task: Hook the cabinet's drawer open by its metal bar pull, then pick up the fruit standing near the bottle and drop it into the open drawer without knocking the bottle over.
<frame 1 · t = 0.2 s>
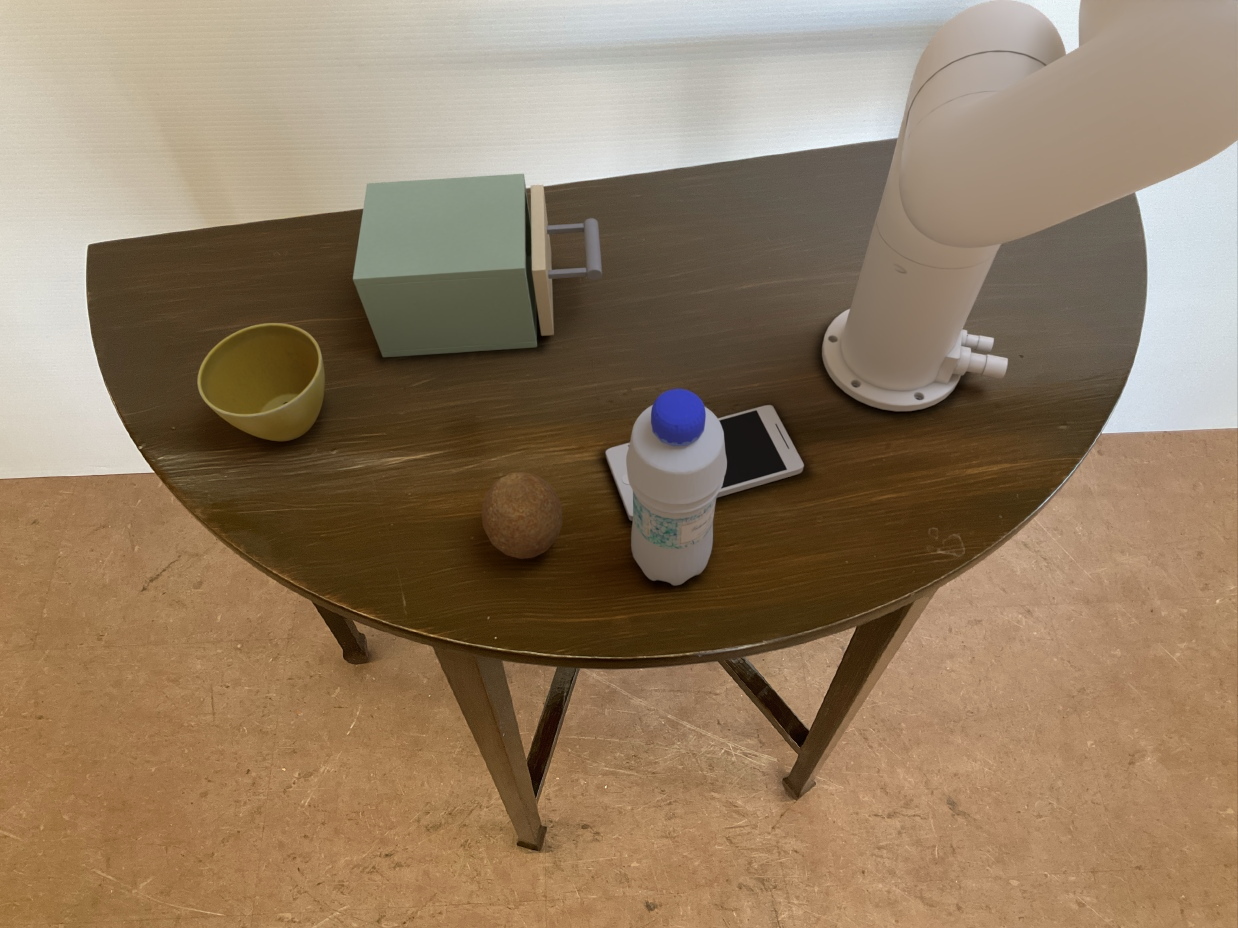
fruit: (528, 542, 70), on the table
cabinet: (462, 304, 84), on the table
bottle: (670, 557, 68), on the table
smartphone: (703, 464, 73), on the table
flower pot: (289, 420, 77), on the table
drawer: (502, 263, 80), point 5 cm above the table, slide at 0.5 cm
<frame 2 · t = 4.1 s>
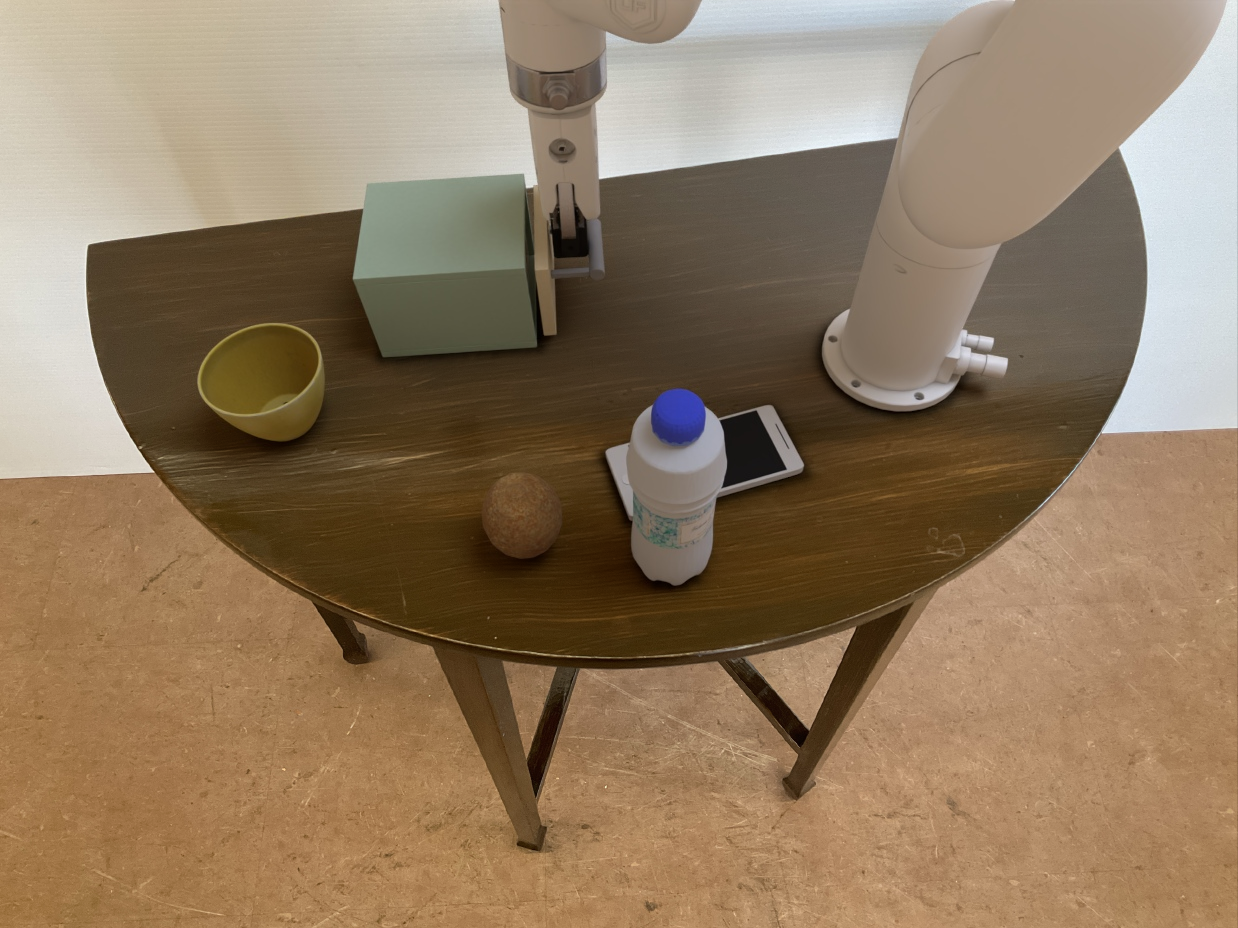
hand: (570, 251, 80), 6 cm above the table, tool pointing down, fingers closed
drawer: (505, 262, 80), point 5 cm above the table, slide at 0.8 cm, touching gripper
everything else where it was.
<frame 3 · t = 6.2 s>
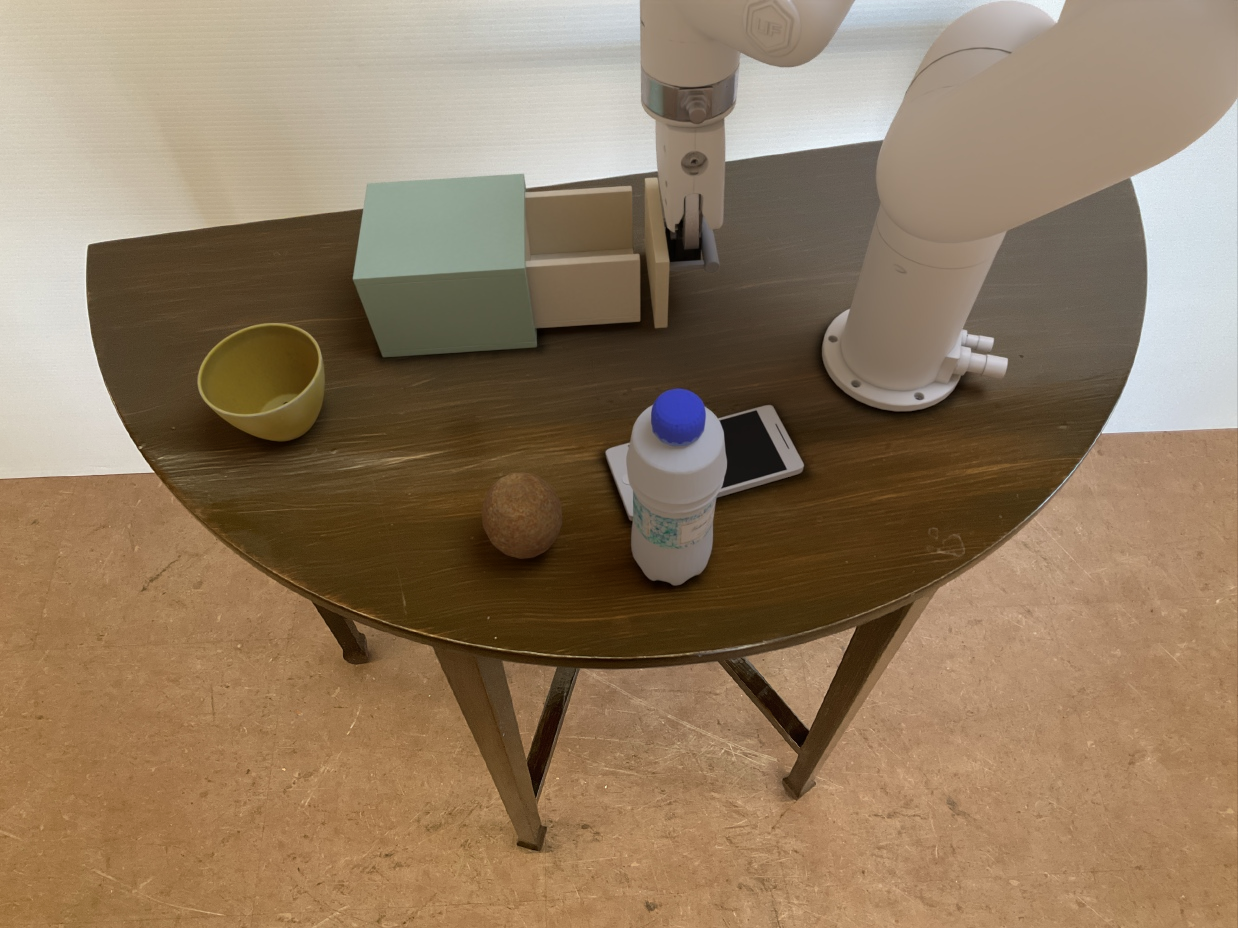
hand: (682, 261, 81), 4 cm above the table, tool pointing down, fingers closed
drawer: (616, 255, 80), point 5 cm above the table, slide at 11.2 cm
everything else where it was.
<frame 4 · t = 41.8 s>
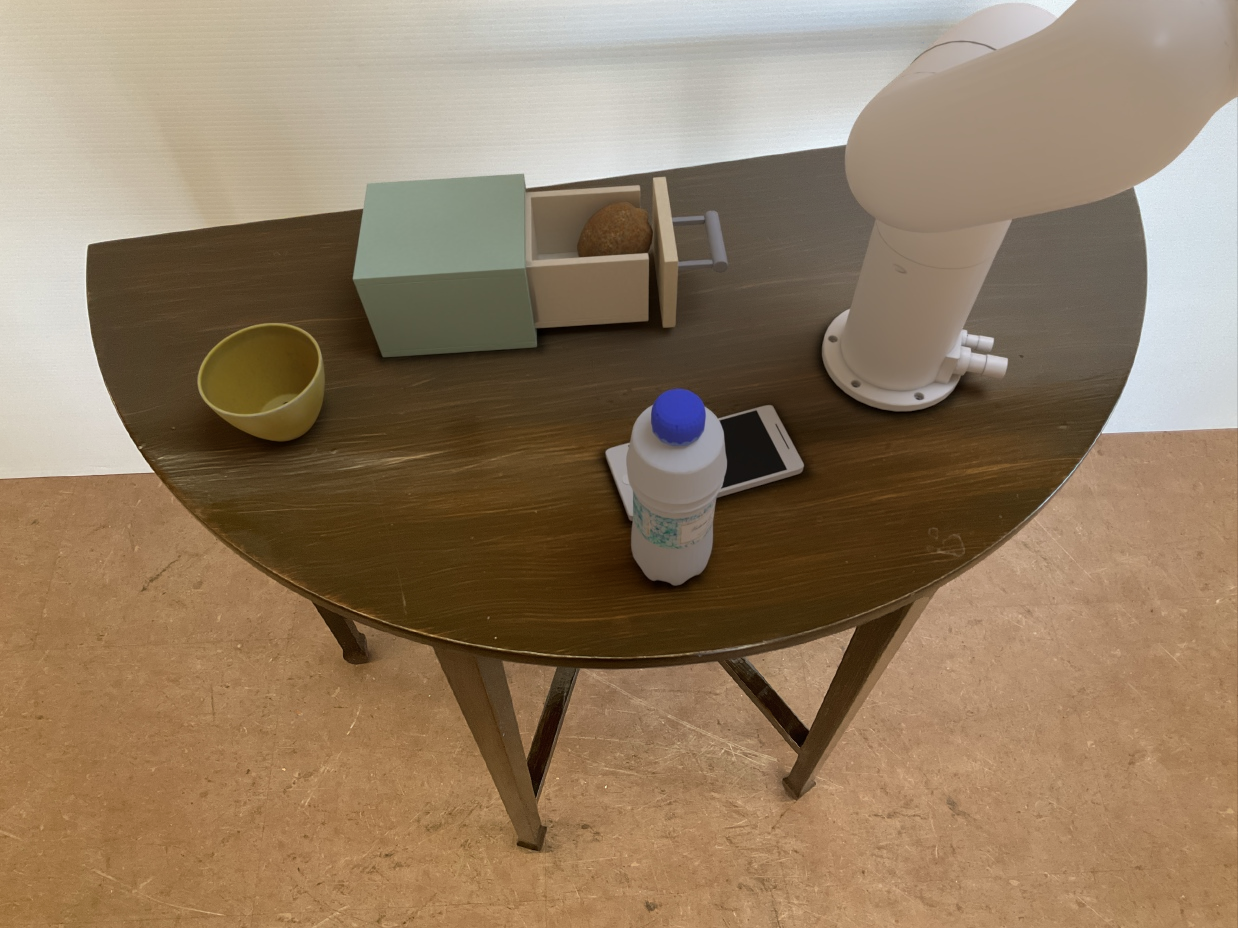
fruit: (583, 271, 82), point 3 cm above the table, touching drawer
drawer: (625, 255, 80), point 5 cm above the table, slide at 12.0 cm, touching fruit
everything else where it was.
at the end: drawer slide at 12.0 cm; fruit inside the target area in the drawer (0.2 cm from its centre), point 3.4 cm above the cabinet's base; bottle tilted 0° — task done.
